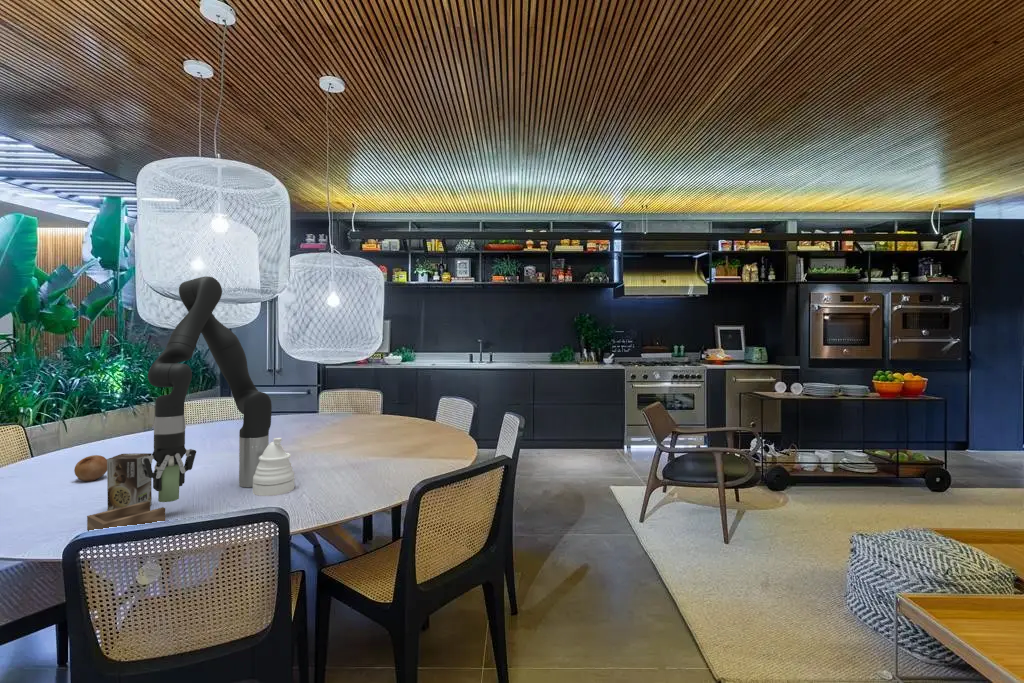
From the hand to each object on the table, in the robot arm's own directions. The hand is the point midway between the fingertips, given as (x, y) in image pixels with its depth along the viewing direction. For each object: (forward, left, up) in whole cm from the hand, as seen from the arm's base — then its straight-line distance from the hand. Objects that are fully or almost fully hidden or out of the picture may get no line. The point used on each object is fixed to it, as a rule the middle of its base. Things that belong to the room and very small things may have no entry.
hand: (168, 487), depth 141 cm
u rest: (+10, 0, -8) cm, 13 cm away
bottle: (0, 0, -3) cm, 3 cm away
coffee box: (+4, -16, -8) cm, 18 cm away
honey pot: (-30, +4, -8) cm, 32 cm away
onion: (-1, -61, -8) cm, 61 cm away
